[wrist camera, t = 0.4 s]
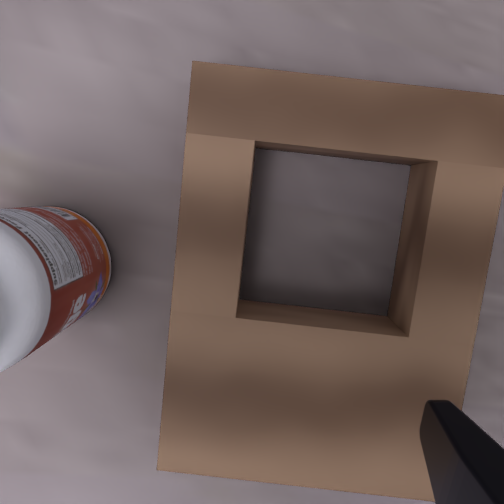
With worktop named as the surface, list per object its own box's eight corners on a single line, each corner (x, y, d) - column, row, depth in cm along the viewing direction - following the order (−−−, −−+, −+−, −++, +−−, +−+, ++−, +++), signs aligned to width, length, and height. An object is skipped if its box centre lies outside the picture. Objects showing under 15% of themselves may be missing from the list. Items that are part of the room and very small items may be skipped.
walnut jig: (418, 459, 25) (444, 502, 22) (170, 431, 25) (156, 470, 22) (480, 111, 22) (520, 97, 19) (202, 80, 22) (192, 60, 19)
